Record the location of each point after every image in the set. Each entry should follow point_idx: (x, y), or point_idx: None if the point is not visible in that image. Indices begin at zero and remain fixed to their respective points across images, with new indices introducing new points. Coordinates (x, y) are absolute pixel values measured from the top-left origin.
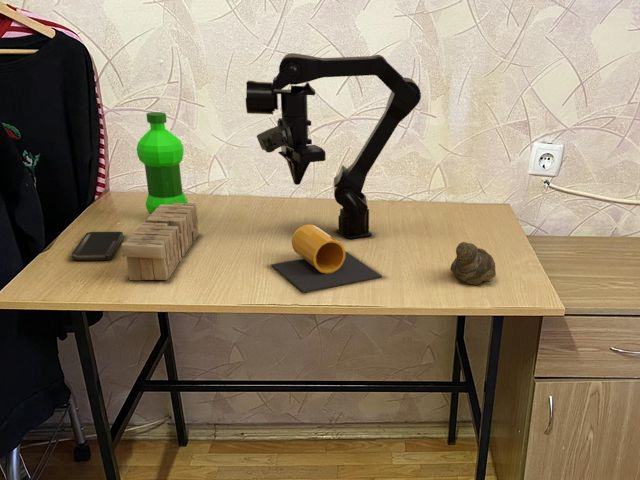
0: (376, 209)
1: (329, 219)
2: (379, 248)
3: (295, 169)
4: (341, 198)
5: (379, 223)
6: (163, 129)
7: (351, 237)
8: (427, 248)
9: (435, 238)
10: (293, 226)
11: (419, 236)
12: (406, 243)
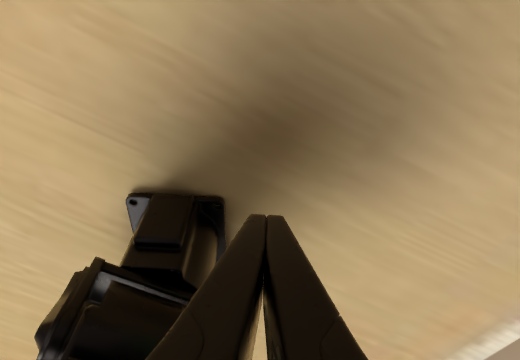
0: None
1: (358, 233)
2: (29, 225)
3: (163, 346)
4: (60, 309)
5: None
6: None
7: (126, 203)
8: (14, 306)
9: None
10: (371, 91)
11: None
12: (61, 290)
